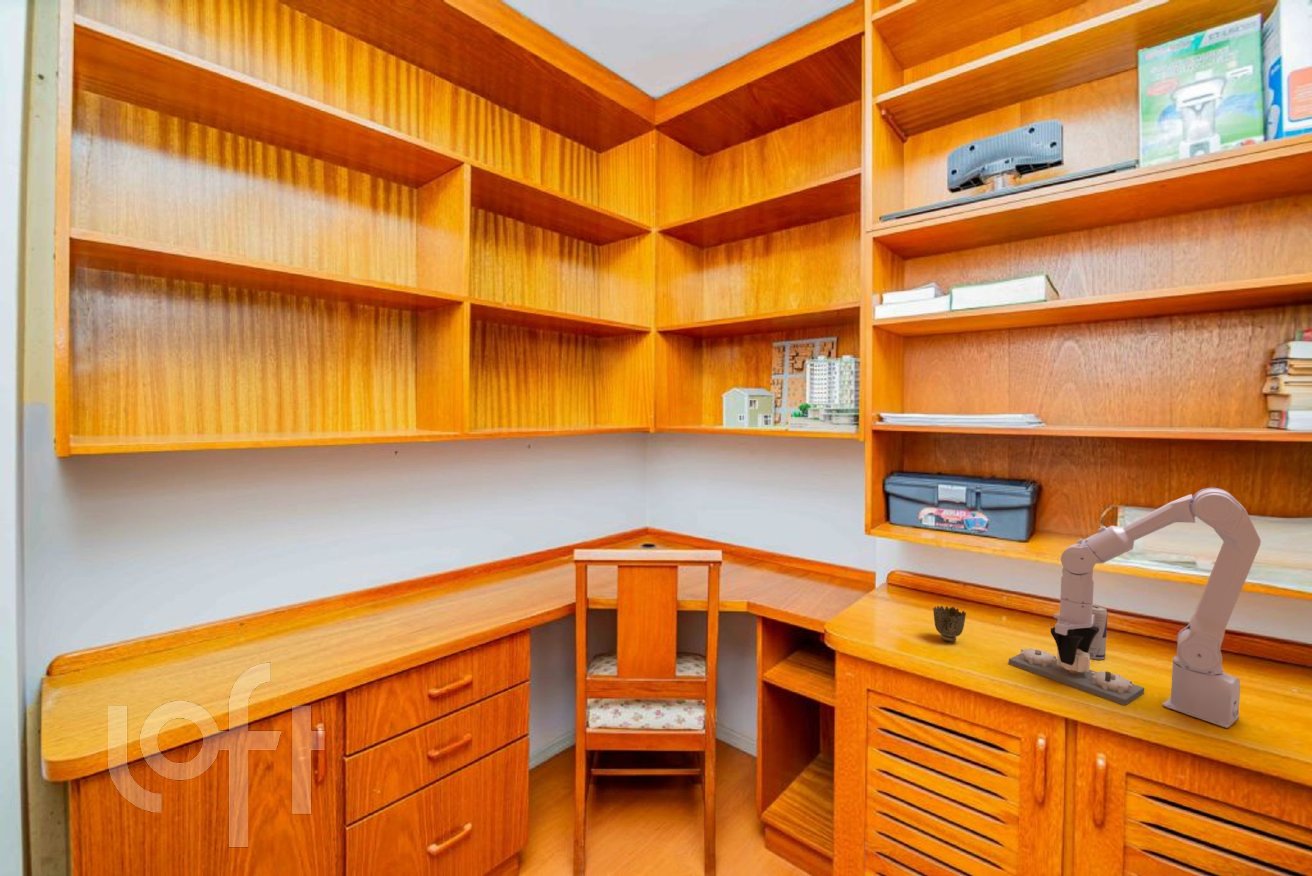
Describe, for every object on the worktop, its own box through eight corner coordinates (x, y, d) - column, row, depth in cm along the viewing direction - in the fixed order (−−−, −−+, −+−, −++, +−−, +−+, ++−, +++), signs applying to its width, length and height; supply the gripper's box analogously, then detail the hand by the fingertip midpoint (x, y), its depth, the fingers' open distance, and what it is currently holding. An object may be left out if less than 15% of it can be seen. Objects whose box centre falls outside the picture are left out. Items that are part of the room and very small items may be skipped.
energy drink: (1106, 655, 137) (1109, 607, 136) (1103, 662, 133) (1105, 612, 133) (1079, 649, 141) (1082, 601, 140) (1075, 655, 137) (1077, 606, 137)
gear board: (1143, 693, 118) (1145, 672, 118) (1125, 705, 113) (1126, 683, 113) (1029, 654, 137) (1030, 636, 137) (1008, 663, 131) (1009, 644, 131)
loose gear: (1094, 668, 124) (1095, 654, 124) (1082, 674, 121) (1083, 659, 121) (1063, 658, 129) (1064, 644, 129) (1051, 664, 126) (1052, 650, 126)
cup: (971, 645, 142) (972, 614, 141) (946, 647, 140) (947, 616, 140) (950, 634, 149) (951, 604, 149) (925, 636, 147) (927, 605, 147)
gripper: (1070, 589, 131) (1067, 646, 132) (1040, 599, 124) (1037, 660, 124) (1106, 598, 125) (1103, 658, 126) (1078, 609, 118) (1075, 672, 118)
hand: (1073, 660), depth 125 cm, fingers closed on loose gear, 6 cm apart
